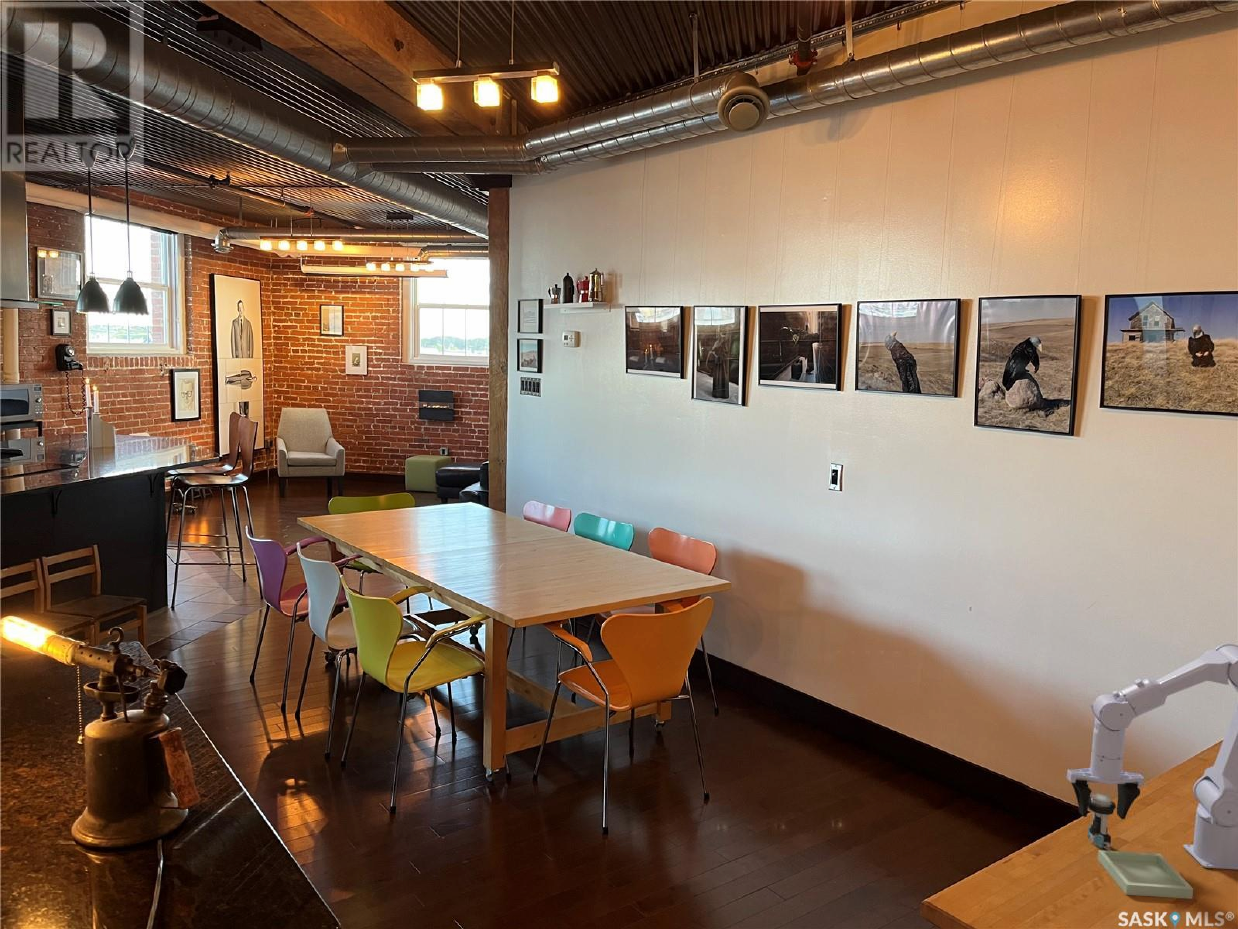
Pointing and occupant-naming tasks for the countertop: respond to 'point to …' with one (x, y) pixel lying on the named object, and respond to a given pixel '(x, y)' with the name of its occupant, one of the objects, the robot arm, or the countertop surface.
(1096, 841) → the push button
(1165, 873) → the tray
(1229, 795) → the robot arm
